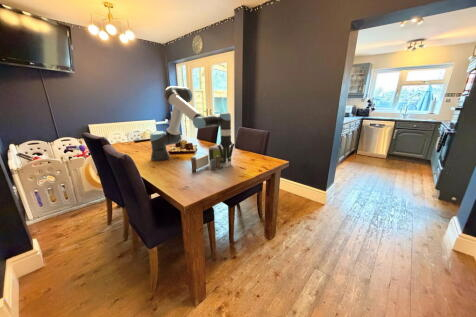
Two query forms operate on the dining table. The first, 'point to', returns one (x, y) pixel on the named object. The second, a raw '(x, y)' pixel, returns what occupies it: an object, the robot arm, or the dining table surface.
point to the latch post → (218, 162)
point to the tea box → (215, 151)
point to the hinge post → (193, 164)
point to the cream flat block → (202, 161)
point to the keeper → (213, 165)
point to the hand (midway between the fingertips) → (226, 165)
